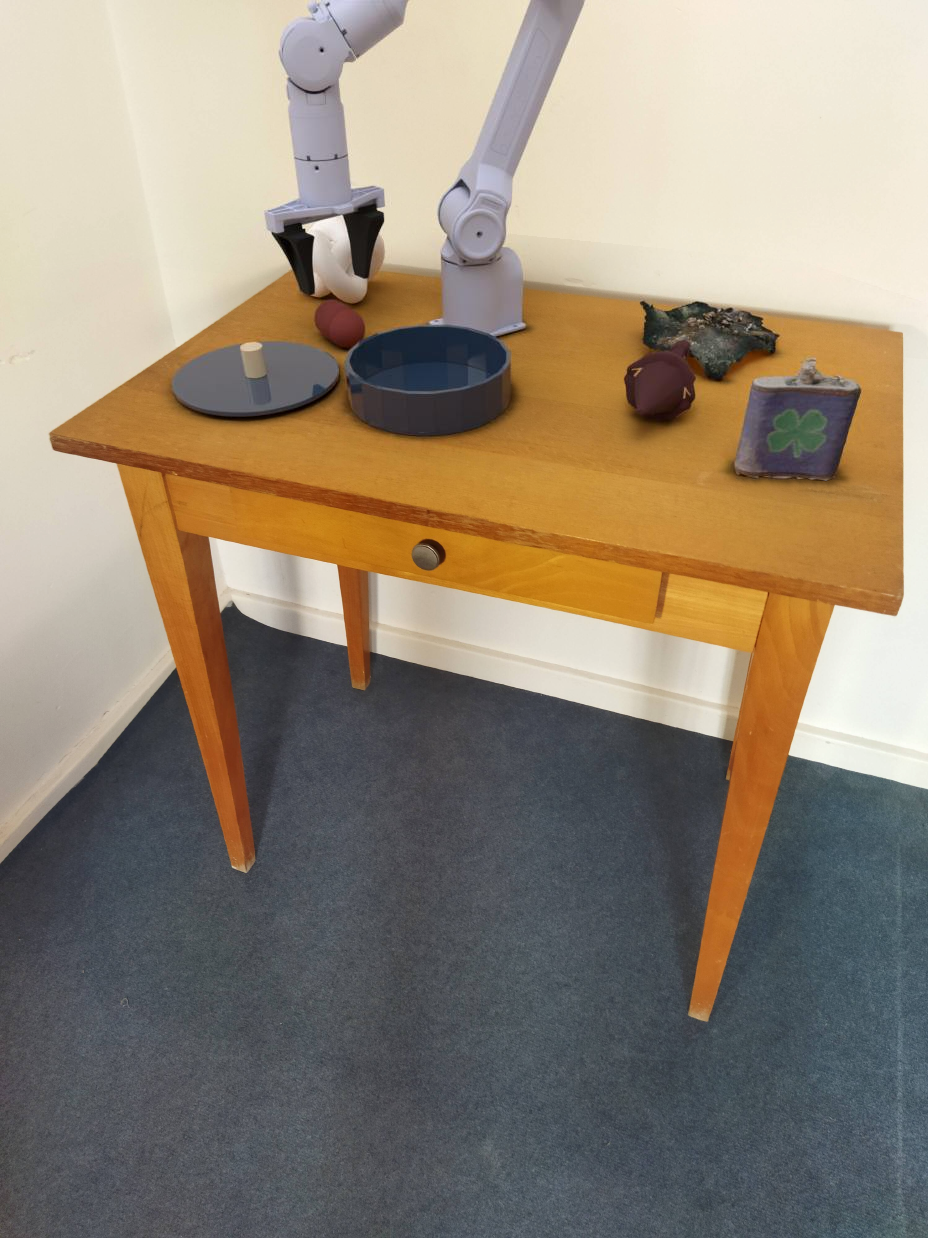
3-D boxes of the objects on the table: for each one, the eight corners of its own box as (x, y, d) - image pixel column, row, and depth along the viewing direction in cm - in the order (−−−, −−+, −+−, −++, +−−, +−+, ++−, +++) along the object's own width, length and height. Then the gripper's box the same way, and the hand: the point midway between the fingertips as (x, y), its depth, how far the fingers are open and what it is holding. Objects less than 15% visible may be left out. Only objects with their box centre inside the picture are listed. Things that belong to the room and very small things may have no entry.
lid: (298, 337, 107) (293, 302, 105) (368, 392, 96) (365, 354, 93) (151, 374, 100) (142, 337, 97) (208, 438, 88) (199, 399, 86)
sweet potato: (342, 326, 110) (338, 291, 107) (373, 348, 105) (370, 311, 102) (310, 334, 108) (306, 298, 105) (340, 356, 103) (336, 319, 100)
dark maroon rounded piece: (691, 394, 80) (724, 346, 91) (618, 362, 81) (658, 318, 92) (661, 459, 84) (696, 405, 96) (592, 427, 86) (634, 378, 97)
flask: (734, 477, 81) (758, 366, 74) (731, 461, 83) (753, 352, 76) (838, 482, 80) (872, 370, 73) (831, 465, 82) (863, 356, 75)
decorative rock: (678, 274, 111) (800, 285, 104) (673, 323, 114) (791, 337, 107) (619, 314, 97) (755, 330, 91) (616, 369, 101) (747, 387, 94)
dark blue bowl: (454, 351, 104) (453, 312, 101) (542, 406, 92) (544, 364, 90) (322, 388, 97) (317, 348, 94) (400, 452, 85) (397, 409, 83)
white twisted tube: (371, 273, 125) (365, 205, 119) (403, 300, 116) (398, 229, 111) (294, 286, 121) (284, 217, 115) (321, 315, 113) (312, 243, 107)
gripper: (283, 173, 87) (301, 309, 96) (398, 149, 95) (405, 277, 103) (246, 161, 91) (267, 292, 100) (359, 138, 99) (369, 263, 107)
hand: (335, 284), depth 102 cm, fingers open, 7 cm apart
